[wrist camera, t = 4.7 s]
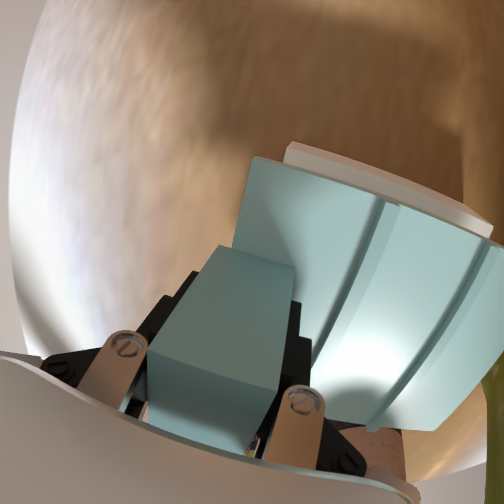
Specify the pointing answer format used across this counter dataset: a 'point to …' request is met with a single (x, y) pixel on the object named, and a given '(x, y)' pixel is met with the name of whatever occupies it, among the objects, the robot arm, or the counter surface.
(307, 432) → the robot arm
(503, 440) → the plant pot
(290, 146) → the tub
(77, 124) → the counter surface
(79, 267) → the counter surface
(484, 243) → the lid
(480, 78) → the counter surface
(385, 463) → the travel mug
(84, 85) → the counter surface
